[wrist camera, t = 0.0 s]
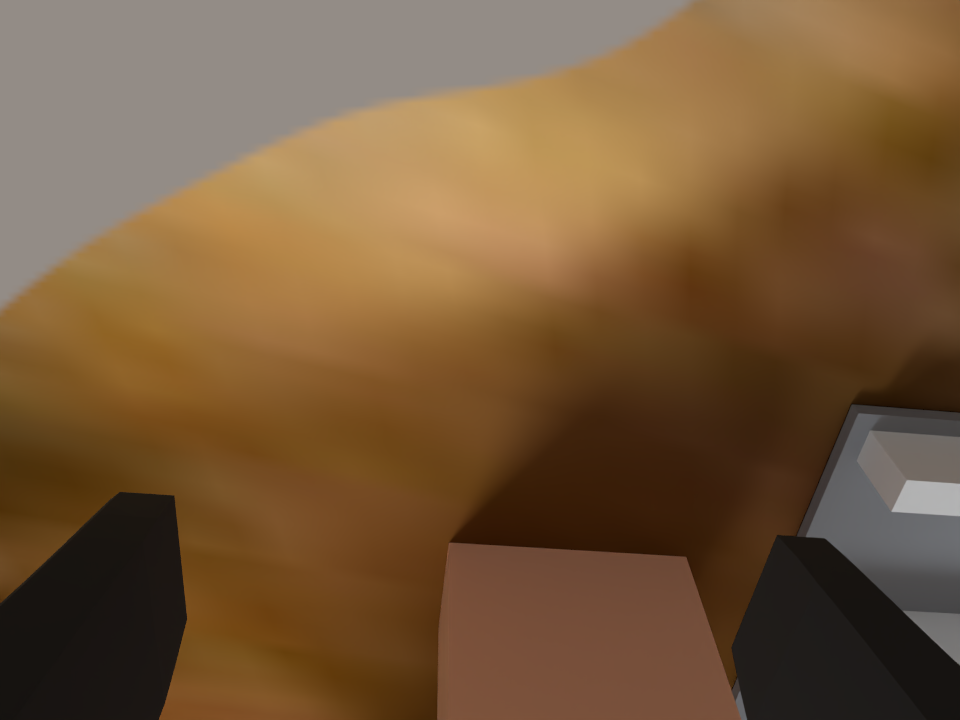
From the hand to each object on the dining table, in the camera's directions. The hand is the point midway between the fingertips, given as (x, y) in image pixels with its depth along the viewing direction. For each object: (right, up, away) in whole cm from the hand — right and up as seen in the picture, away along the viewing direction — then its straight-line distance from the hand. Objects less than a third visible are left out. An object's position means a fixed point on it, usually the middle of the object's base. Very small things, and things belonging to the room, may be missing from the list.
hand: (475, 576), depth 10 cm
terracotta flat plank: (+2, -4, +15) cm, 16 cm away
